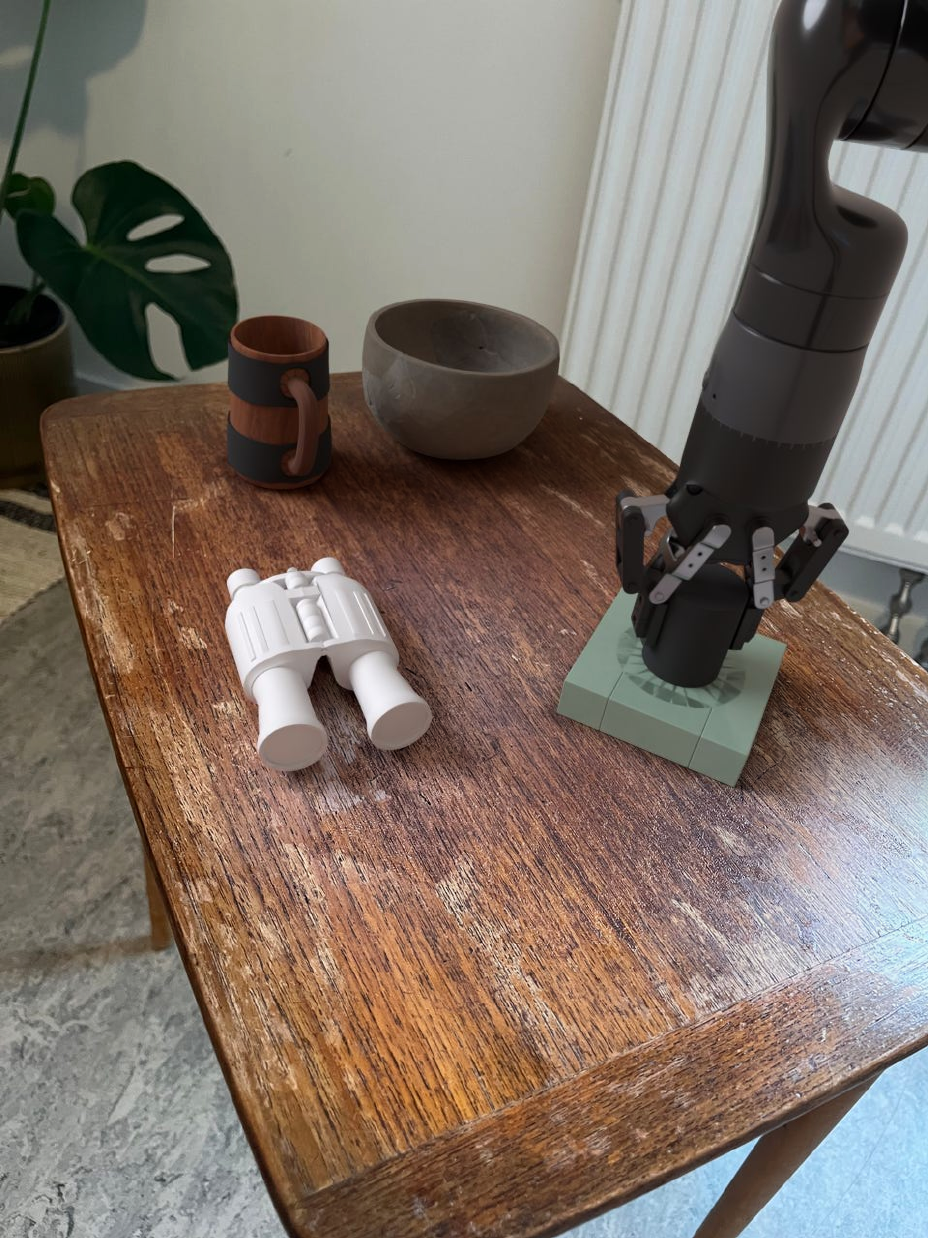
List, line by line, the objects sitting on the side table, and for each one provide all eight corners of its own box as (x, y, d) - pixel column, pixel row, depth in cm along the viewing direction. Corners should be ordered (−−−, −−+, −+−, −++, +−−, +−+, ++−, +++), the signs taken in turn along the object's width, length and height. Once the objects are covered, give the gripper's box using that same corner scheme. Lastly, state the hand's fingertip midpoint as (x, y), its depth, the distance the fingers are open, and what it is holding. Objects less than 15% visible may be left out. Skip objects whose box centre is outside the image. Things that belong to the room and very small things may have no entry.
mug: (258, 523, 75) (255, 386, 67) (215, 447, 83) (208, 316, 75) (361, 505, 78) (368, 373, 71) (310, 433, 86) (312, 307, 79)
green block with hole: (773, 675, 68) (787, 644, 66) (734, 788, 60) (748, 755, 58) (615, 614, 71) (624, 582, 70) (556, 713, 63) (564, 679, 61)
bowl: (470, 376, 99) (482, 280, 92) (583, 459, 89) (605, 357, 82) (321, 408, 90) (324, 305, 84) (428, 504, 80) (440, 394, 73)
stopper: (716, 682, 66) (757, 576, 61) (696, 728, 63) (738, 621, 57) (645, 654, 68) (678, 548, 62) (621, 698, 64) (655, 590, 58)
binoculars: (260, 783, 56) (258, 727, 53) (210, 610, 67) (206, 555, 64) (430, 747, 59) (437, 693, 56) (356, 589, 70) (359, 536, 67)
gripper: (657, 428, 48) (589, 676, 59) (926, 448, 50) (812, 684, 60) (628, 361, 53) (571, 598, 64) (870, 381, 55) (775, 608, 66)
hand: (688, 639), depth 62 cm, fingers closed on stopper, 5 cm apart
